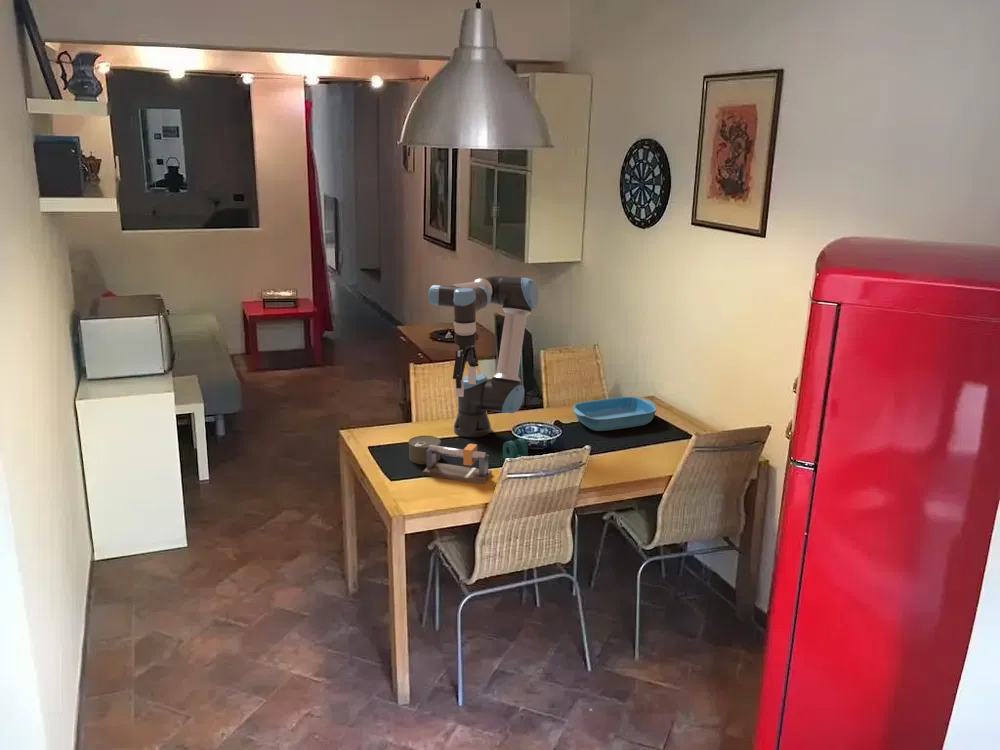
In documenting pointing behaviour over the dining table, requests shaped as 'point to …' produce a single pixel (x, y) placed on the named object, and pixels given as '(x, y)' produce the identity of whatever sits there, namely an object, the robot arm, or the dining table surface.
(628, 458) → the dining table surface
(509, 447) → the bracket
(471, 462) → the collar
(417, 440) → the can
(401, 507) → the dining table surface
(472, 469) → the pipe stand
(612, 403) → the casserole dish
